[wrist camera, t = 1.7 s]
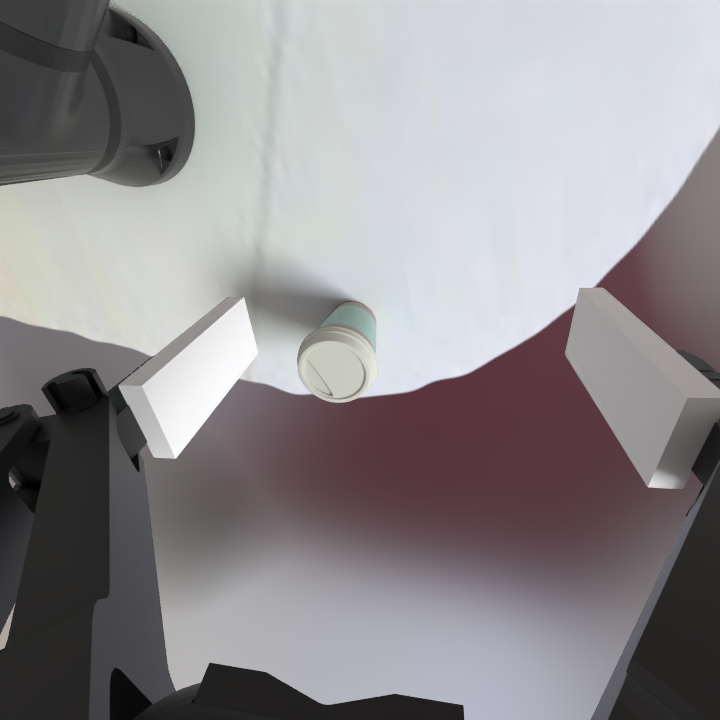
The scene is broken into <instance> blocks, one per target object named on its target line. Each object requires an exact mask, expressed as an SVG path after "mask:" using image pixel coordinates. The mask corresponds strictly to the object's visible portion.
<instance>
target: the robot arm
mask: <svg viewBox="0 0 720 720" xmlns="http://www.w3.org/2000/svg"><path fill="white" fill-rule="evenodd" d="M109 2H110V0H0V186H2V185H9V184H17V183H24V182H32V181H39V180H46V179H54V178H61V177H69V176H76V175H83V174H87V175H90V176H93V177H97V178H100V179H103V180H107V181H110V182H113V183H116V184H120V185H124V186H132V187H143V186H149V185H155V184H160V183H163V182H165V181H167V180H169V179H171V178H172V177H174V176H175V175H176V174H177V173H178V172H179V171H180V170H181V169H182V168H183V166H184V165H185V163H186V162H187V159H188V157H189V155H190V152H191V149H192V145H193V140H194V131H195V120H194V110H193V104H192V99H191V95H190V92H189V89H188V86H187V83H186V80H185V78H184V75H183V73H182V71H181V69H180V67H179V65H178V63H177V62H176V60H175V58H174V56H173V55H172V53H171V52H170V50H169V49H168V48H167V46H166V45H165V44H164V43H163V41H162V40H161V39H160V38H159V37H158V36H157V35H156V34H155V33H154V32H153V31H152V30H151V29H150V28H149V27H148V26H146V25H145V24H144V23H143V22H141V21H140V20H138V19H137V18H135V17H134V16H132V15H130V14H128V13H126V12H123V11H121V10H118V9H116V8H113V7H111V6H108V5H109ZM257 354H258V350H257V346H256V342H255V338H254V334H253V330H252V326H251V323H250V319H249V315H248V311H247V307H246V303H245V299H244V297H227V298H226V299H225V300H224V301H222V302H221V303H220V304H219V305H217V306H216V307H215V308H214V309H212V310H211V311H210V312H209V313H207V314H206V315H205V316H204V317H202V318H201V319H200V320H199V321H197V322H196V323H195V324H194V325H192V326H191V327H190V328H189V329H187V330H186V331H185V332H184V333H182V334H181V335H180V336H179V337H177V338H176V339H175V340H174V341H172V342H171V343H170V344H169V345H167V346H166V347H165V348H164V349H162V350H161V351H160V352H159V353H157V354H156V355H155V356H153V357H151V358H150V359H148V360H147V361H146V362H144V363H143V364H142V365H141V367H138V368H137V369H136V370H134V371H133V373H132V374H129V375H128V376H127V377H126V378H124V379H123V380H122V381H121V382H119V383H118V384H117V385H116V386H114V387H113V388H112V389H111V390H109V391H108V392H107V391H106V389H105V387H104V385H103V383H102V381H101V379H100V377H99V376H98V374H97V372H96V370H95V369H91V368H82V369H77V370H73V371H69V372H67V373H64V374H61V375H59V376H57V377H55V378H53V379H51V380H50V381H49V382H47V383H46V384H45V385H44V386H43V387H42V389H41V390H42V391H43V393H44V395H45V396H46V398H47V399H48V401H49V402H50V404H51V405H52V407H53V409H54V410H55V412H56V415H50V416H44V417H39V416H38V415H37V413H36V412H35V410H34V409H33V407H32V406H31V405H27V404H22V405H15V406H12V407H6V408H2V409H0V634H1V632H2V629H3V627H4V625H5V623H6V621H7V619H8V617H9V615H10V613H11V610H12V608H13V606H14V604H15V608H14V613H13V617H12V622H11V627H10V631H9V636H8V640H7V643H6V646H5V648H4V649H2V650H0V720H464V708H463V705H458V704H452V703H446V702H440V701H434V700H427V699H422V698H416V697H410V696H404V695H398V694H392V695H386V696H380V697H374V698H368V699H362V700H357V701H350V702H345V703H339V704H333V705H324V704H320V703H318V702H316V701H315V700H313V699H311V698H310V697H308V696H306V695H304V694H303V693H301V692H299V691H297V690H296V689H294V688H292V687H290V686H289V685H287V684H285V683H283V682H282V681H280V680H278V679H277V678H275V677H273V676H272V675H270V674H268V673H266V672H261V671H255V670H249V669H244V668H237V667H232V666H226V665H220V664H214V663H209V665H208V668H207V670H206V672H205V675H204V677H203V680H202V682H201V683H198V684H195V685H192V686H189V687H186V688H183V689H181V690H178V691H176V690H175V688H174V685H173V683H172V680H171V677H170V673H169V670H168V664H167V657H166V648H165V640H164V631H163V623H162V614H161V606H160V597H159V589H158V580H157V572H156V564H155V556H154V547H153V538H152V529H151V521H150V512H149V504H148V496H147V487H146V479H145V470H144V462H143V459H142V457H141V455H140V453H139V451H140V450H141V449H142V447H143V446H145V444H146V443H147V444H148V446H149V448H150V450H151V452H152V454H153V456H154V457H158V458H174V459H176V458H177V456H178V455H179V454H180V453H181V451H182V450H183V449H184V447H185V446H186V445H187V443H188V442H189V441H190V439H191V438H192V437H193V436H194V435H195V433H196V432H197V431H198V430H199V428H200V427H201V426H202V424H203V423H204V422H205V421H206V419H207V418H208V417H209V416H210V414H211V413H212V412H213V410H214V409H215V408H216V407H217V405H218V404H219V403H220V402H221V400H222V399H223V398H224V396H225V395H226V394H227V393H228V391H229V390H230V389H231V388H232V386H233V385H234V384H235V382H236V381H237V380H238V379H239V377H240V376H241V375H242V374H243V372H244V371H245V370H246V368H247V367H248V366H249V365H250V363H251V362H252V361H253V360H254V358H255V357H256V356H257ZM565 355H566V357H567V358H568V360H569V362H570V363H571V364H572V366H573V368H574V370H575V371H576V373H577V374H578V376H579V378H580V379H581V381H582V382H583V384H584V386H585V387H586V389H587V390H588V392H589V394H590V395H591V397H592V398H593V400H594V402H595V403H596V405H597V406H598V408H599V410H600V411H601V413H602V414H603V416H604V418H605V419H606V421H607V423H608V424H609V426H610V427H611V429H612V431H613V432H614V434H615V435H616V437H617V439H618V440H619V442H620V443H621V445H622V446H623V448H624V450H625V451H626V453H627V455H628V456H629V458H630V459H631V461H632V463H633V464H634V466H635V467H636V469H637V471H638V472H639V474H640V475H641V477H642V479H643V480H644V482H645V483H646V485H647V487H654V488H671V489H683V488H684V486H685V484H686V482H687V480H688V478H689V476H690V474H691V473H692V471H693V472H694V474H695V475H696V476H697V477H698V479H699V480H700V481H701V483H702V484H703V486H702V487H701V489H700V491H699V493H698V495H697V496H696V498H695V500H694V502H693V504H692V506H691V508H690V509H689V511H688V513H687V515H686V516H687V518H686V520H685V522H684V524H683V527H682V528H681V531H680V533H679V535H678V537H677V539H676V541H675V543H674V545H673V547H672V550H671V552H670V554H669V556H668V558H667V560H666V562H665V564H664V566H663V569H662V571H661V573H660V575H659V577H658V579H657V581H656V583H655V586H654V588H653V590H652V592H651V594H650V596H649V598H648V600H647V602H646V604H645V607H644V609H643V611H642V613H641V615H640V618H639V619H638V621H637V623H636V626H635V628H634V630H633V632H632V634H631V636H630V638H629V640H628V642H627V645H626V647H625V649H624V651H623V653H622V655H621V657H620V660H619V662H618V664H617V666H616V668H615V670H614V672H613V675H612V676H611V678H610V680H609V683H608V685H607V687H606V689H605V691H604V693H603V695H602V697H601V699H600V702H599V704H598V706H597V708H596V710H595V712H594V714H593V716H592V718H591V720H720V373H718V372H716V370H715V369H714V368H712V367H711V366H710V365H709V364H708V363H706V362H705V361H704V360H702V359H701V358H698V357H696V356H694V355H692V354H690V353H688V352H686V351H684V350H674V349H673V348H671V347H670V346H669V345H668V344H667V343H666V342H664V341H663V340H662V339H661V338H660V337H659V336H658V335H656V334H655V333H654V332H653V331H652V330H651V329H650V328H648V327H647V326H646V325H645V324H644V323H643V322H642V321H640V320H639V319H638V318H637V317H636V316H635V315H633V314H632V313H631V312H630V311H629V310H628V309H627V308H625V307H624V306H623V305H622V304H621V303H620V302H619V301H617V300H616V299H615V298H614V297H613V296H612V295H611V294H609V293H608V292H607V291H606V290H605V289H604V288H580V289H579V293H578V298H577V302H576V307H575V312H574V316H573V320H572V325H571V330H570V334H569V338H568V343H567V347H566V352H565ZM9 476H10V477H11V478H12V480H13V481H14V482H15V483H16V484H15V486H14V488H12V486H11V484H10V483H9ZM15 602H16V603H15Z"/></svg>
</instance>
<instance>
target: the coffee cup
mask: <svg viewBox="0 0 720 720" xmlns="http://www.w3.org/2000/svg"><path fill="white" fill-rule="evenodd" d="M297 363H298V372H299V376H300V379H301V381H302V382H303V384H304V386H305V387H306V388H307V389H308V390H309V391H310V392H311V393H312V394H314V395H315V396H317V397H319V398H321V399H323V400H326V401H330V402H339V403H340V402H348V401H351V400H354V399H356V398H358V397H359V396H360V395H362V394H363V393H364V392H365V391H366V390H367V389H368V388H369V387H370V386H371V385H372V383H373V381H374V380H375V377H376V375H377V371H378V361H377V357H376V319H375V316H374V314H373V312H372V311H371V310H370V309H369V308H368V307H367V306H365V305H364V304H361V303H358V302H346V303H343V304H341V305H339V306H338V307H337V308H336V309H335V310H334V311H333V312H332V313H331V314H330V316H329V317H328V318H327V319H326V320H325V321H324V322H323V323H322V324H321V325H320V326H319V328H318V329H317V330H316V331H314V332H312V333H311V334H309V335H308V336H307V337H306V338H305V339H304V340H303V342H302V344H301V346H300V348H299V352H298V358H297Z"/></svg>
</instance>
